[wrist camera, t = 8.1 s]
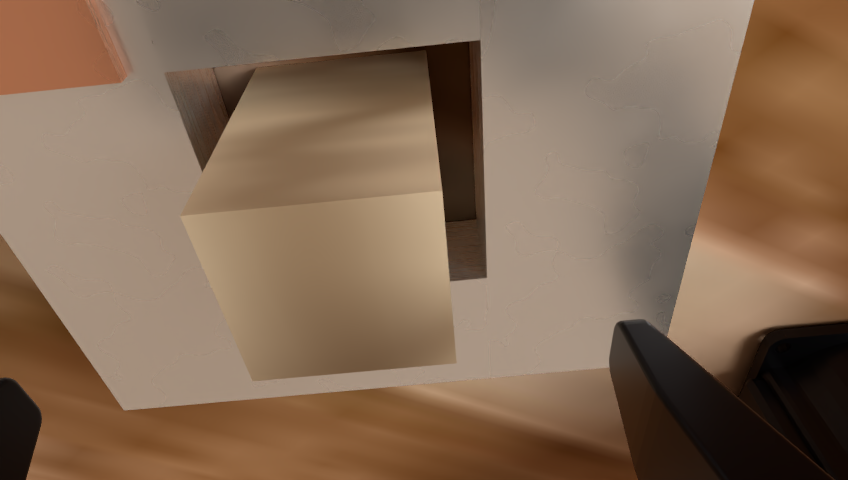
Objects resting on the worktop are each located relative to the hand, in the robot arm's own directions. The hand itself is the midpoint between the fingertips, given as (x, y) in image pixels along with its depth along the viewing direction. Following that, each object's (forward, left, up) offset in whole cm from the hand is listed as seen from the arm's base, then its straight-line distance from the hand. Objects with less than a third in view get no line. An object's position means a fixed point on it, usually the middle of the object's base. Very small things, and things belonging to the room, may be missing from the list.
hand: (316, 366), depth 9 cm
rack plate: (0, 0, -8) cm, 8 cm away
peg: (0, 0, -8) cm, 8 cm away
